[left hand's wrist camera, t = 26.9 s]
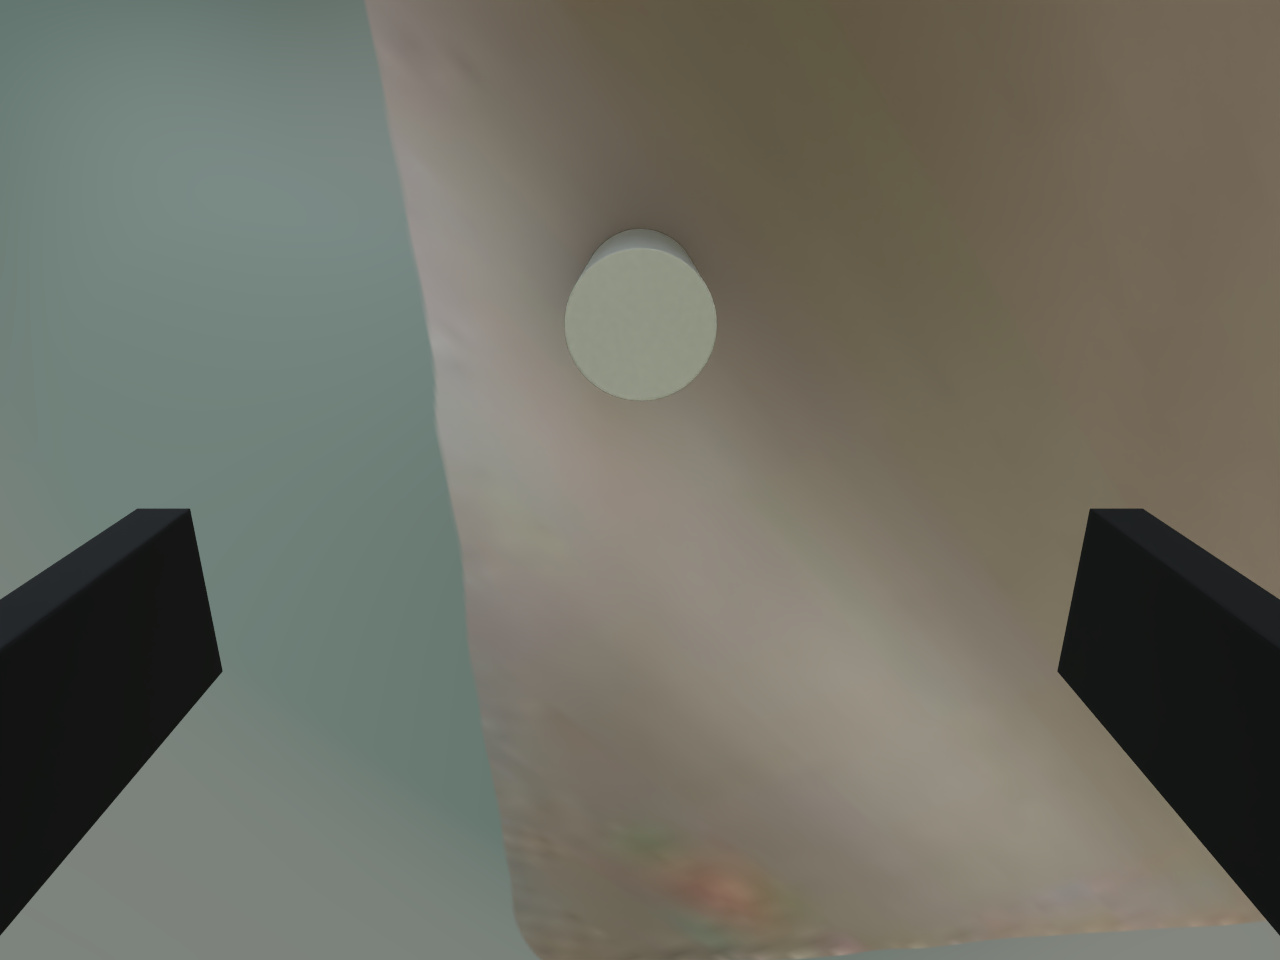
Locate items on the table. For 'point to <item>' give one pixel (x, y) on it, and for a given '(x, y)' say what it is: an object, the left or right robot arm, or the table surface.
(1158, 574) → the left robot arm
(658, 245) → the canister
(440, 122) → the table surface
